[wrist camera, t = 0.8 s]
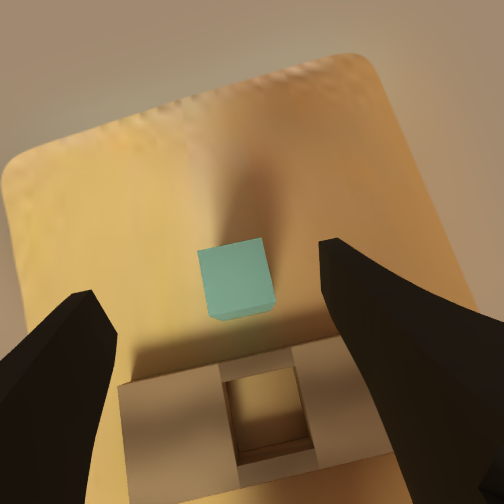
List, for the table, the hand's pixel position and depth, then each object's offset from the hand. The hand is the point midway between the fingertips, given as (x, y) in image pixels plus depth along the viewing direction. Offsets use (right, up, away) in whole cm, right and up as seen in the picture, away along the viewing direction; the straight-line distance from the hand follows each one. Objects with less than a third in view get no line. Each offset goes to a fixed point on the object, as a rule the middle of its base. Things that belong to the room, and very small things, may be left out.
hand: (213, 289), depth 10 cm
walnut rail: (+2, -11, +15) cm, 18 cm away
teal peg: (0, -2, +17) cm, 17 cm away
